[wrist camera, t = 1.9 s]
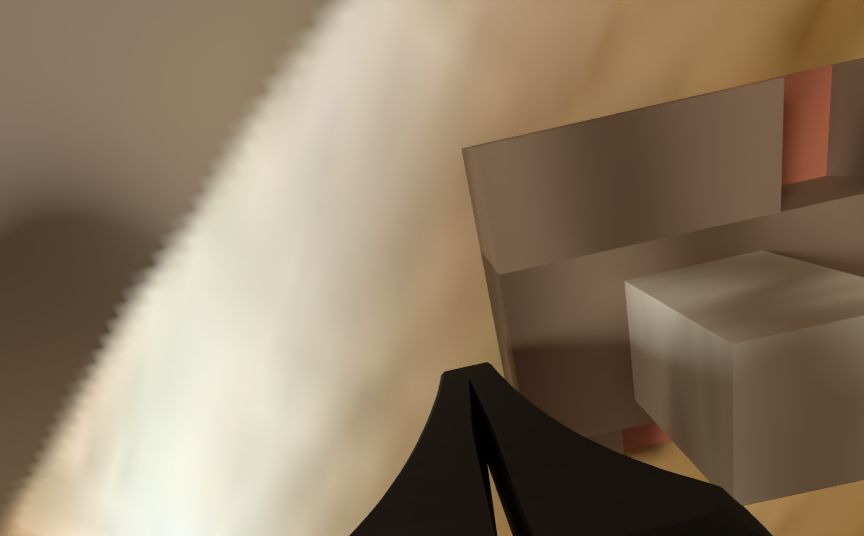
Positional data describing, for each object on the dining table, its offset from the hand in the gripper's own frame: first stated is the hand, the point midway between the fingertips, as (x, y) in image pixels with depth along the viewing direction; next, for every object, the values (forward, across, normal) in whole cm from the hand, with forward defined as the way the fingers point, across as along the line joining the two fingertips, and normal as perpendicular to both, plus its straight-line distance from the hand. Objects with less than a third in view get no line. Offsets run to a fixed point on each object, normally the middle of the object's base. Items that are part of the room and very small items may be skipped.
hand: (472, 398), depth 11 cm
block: (+1, -7, 0) cm, 7 cm away
